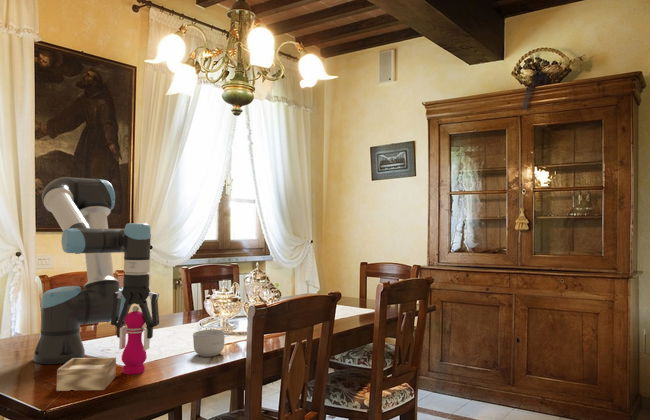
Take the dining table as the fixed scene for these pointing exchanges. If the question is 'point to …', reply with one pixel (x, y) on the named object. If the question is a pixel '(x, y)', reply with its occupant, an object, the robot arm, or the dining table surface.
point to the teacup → (208, 342)
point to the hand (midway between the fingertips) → (134, 348)
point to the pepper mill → (134, 344)
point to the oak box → (86, 374)
